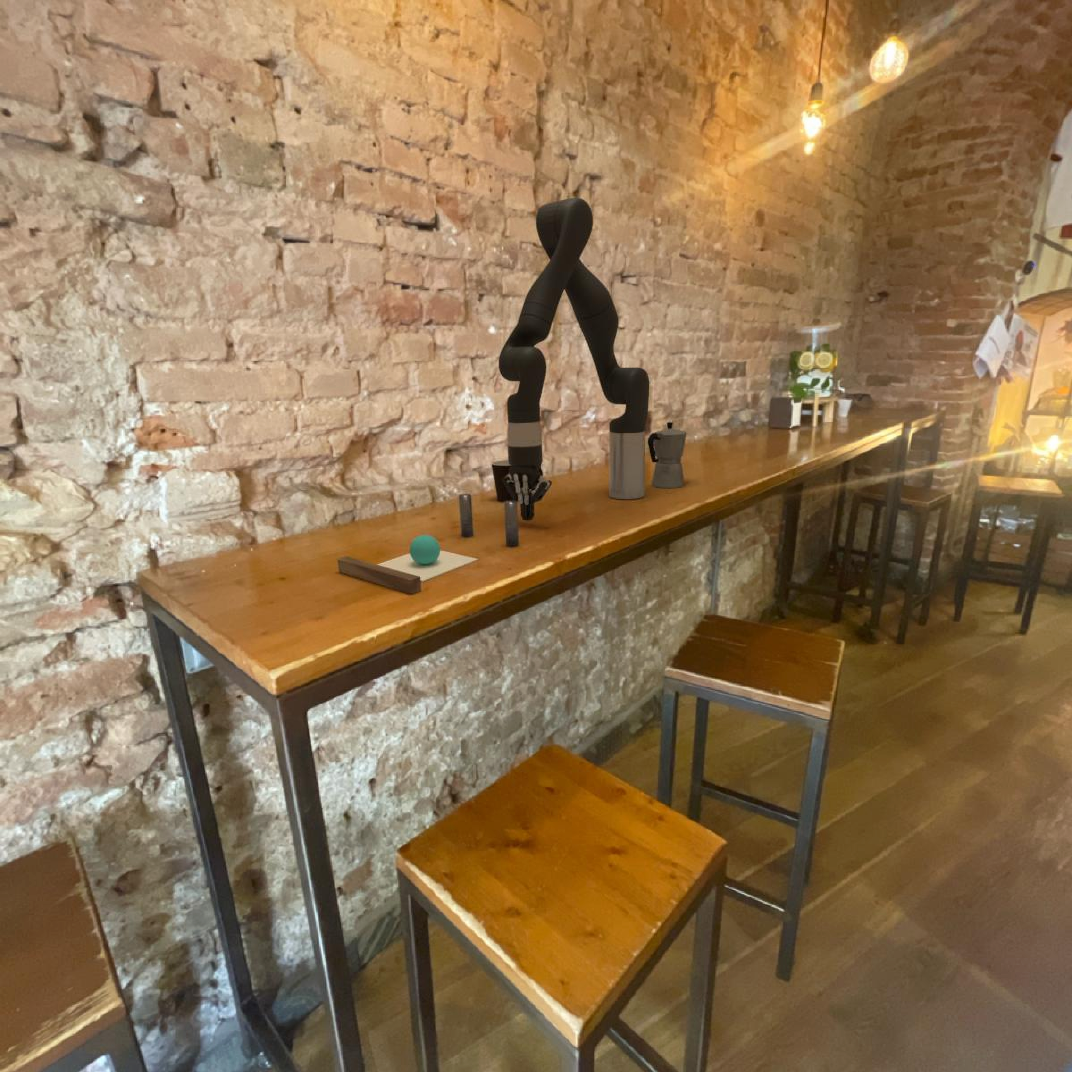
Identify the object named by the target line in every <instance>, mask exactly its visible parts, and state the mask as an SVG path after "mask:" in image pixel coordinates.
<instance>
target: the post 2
mask: <svg viewBox="0 0 1072 1072" xmlns="http://www.w3.org/2000/svg"><path fill="white" fill-rule="evenodd" d="M503 506H504V510H503V511H504V527H505V531H504V532H505V546H506V547H509V548H515V547H518V546H520V545H519V544H520V543H519V542H520V540H519V539H520V538H519V515H518V501H512V500H511V501H505V502H503Z"/></svg>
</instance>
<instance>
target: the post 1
mask: <svg viewBox="0 0 1072 1072" xmlns="http://www.w3.org/2000/svg"><path fill="white" fill-rule="evenodd" d="M458 503H459V504H458V505H459V506H458V507H459V519H460V535H461V538H472V537H474V524H473V523H474V521H473V520H474V519H473V505H472V503H473V502H472V494H471V493H461V494H459V495H458Z"/></svg>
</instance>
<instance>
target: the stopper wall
mask: <svg viewBox="0 0 1072 1072" xmlns="http://www.w3.org/2000/svg"><path fill="white" fill-rule="evenodd" d="M337 566H338V568H337V569H338V573H341V574H344V575H348V576H350V577H354V578H357V579H360V580H364V581H366V582H369V583H373V584H376V585H380V586H382V587H386V588H390V589H393V590H396V591H399V592H402V593H406V594H408V595H415V594H417V593H419V591H420V592H422V584H421V581H420V577H419V576H416V575H412V574H409V573H405V572H401V571H398V570H394V569H391V568H387V567H383V566H380V565H377V564H376V563H372V562H369V561H365V560H361V559H358V558H354V557H351V556H347V555H346V556H343V557H340V558H337Z"/></svg>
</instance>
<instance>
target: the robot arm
mask: <svg viewBox="0 0 1072 1072" xmlns="http://www.w3.org/2000/svg"><path fill="white" fill-rule="evenodd" d="M593 226H594V217H593V212H592V208H591V206H590V204H589V203H588V202H587V201H586V200H585V199H583V198H581V197H571V198H565V199H562V200H558V201H557V200H556V201H552V202H548V203H545V204H544V205H542V206H541V207H540V208H539V209H538V211H537V213H536V217H535V227H536V232H537V237H538V239H539V241H540V243H541V246H542V248H543V249H544V252H545V254H546V256H547V258H548V259H549V262H548V263H547V264H546V266H545V267H544V269H542V271H541V273H540V274H539V275H538V277H537V278H536V279H535V281H534V282H533V283H532V285H531V287H530V288H529V290H528V292H527V294H526V296H525V299H524V300H523V304H522V306H521V307H522V308H521V311H520V314H519V317H518V321H517V323H516V325H515V326H514V329H512V331H511V333H510V334H509V337H508V338H507V340H506V342H505V343H504V344H503V347H502V349H501V351H500V353H499V357H498V370H499V374H500V375H501V376H502V378H503V379H504V380H506V381H510V382H519V383H518V389H517V392H515V393H513V394H511V395H509V396H508V398H507V401H506V406H507V407H506V409H507V412H506V413H507V429H506V432H507V434H506V435H507V436H506V439H507V460H508V463H509V464H510V465H511V467H510V470H509V474H508V475H507V476H506V477H503V478H502V482H503V484H504V485H505V487H506V489H507V490H508V492H509V494H510V495H511V497H512V499H513V500H517V502H518V504H519V505H520V509H519V510H520V517H521V519H522V521H527V522H528V521H532V520H533V518H534V517H535V503H537V502H541V501H542V499H543V497H544V496H545V495H546V493H547V492H548V491H549V490H550V487H551V486H552V484H553V482H552V480H550V479H548V480H547V478H545V477H544V472H543V468H542V464H543V431H542V423H541V403H540V402H541V398H542V394H543V389H544V384H545V380H546V375H547V361H546V358H545V355H544V354H543V351H541V349H540V348H538V347H536V346H537V344H539V343H542V342H544V341H546V340H547V338H548V337H549V334H550V331H551V329H552V325H553V322H554V320H555V316H556V312H557V310H558V306H559V303H560V301H561V298H562V296H563V293H564V292H565V293H566V296H567V298H568V301H569V302H570V305H571V308H572V311H573V313H574V316H575V319H576V321H577V323H578V327H579V328H580V331H581V332H582V335H583V337H584V340H585V343H586V344H587V347H588V350H589V353H590V355H591V358H592V360H593V363H594V367H595V371H596V374H597V378H598V380H599V381H598V382H599V385H600V386H601V387H600V388H601V391H602V392H603V393H602V394H603V395H604V397H605V399H606V401H607V402H608V403H610V404H613V405H624V406H625V409H624V413H623V414H622V415H620V416H618V417H616V418H613V419H611V420H610V422H609V428H608V429H609V437H608V439H609V441H608V443H609V449H608V450H609V456H608V457H609V461H608V463H609V465H608V466H609V468H608V470H609V471H608V473H609V476H608V477H609V479H608V482H609V483H608V486H609V487H608V488H609V491H608V494H609V497H610V498H613V499H617V500H637V499H640V498H643V497H645V494H646V489H645V488H646V459H645V458H646V457H645V456H646V454H645V453H646V426H647V421H648V417H649V400H650V377H649V374H648V373H647V372H648V371H646V369H644V368H642V367H621V366H620V365H619V363H618V361H617V359H616V358H617V357H616V356H615V351H614V347H615V345H614V344H615V341H616V338H617V333H618V328H619V322H620V321H619V315H618V312H617V309H616V307H615V304H614V301H613V297H612V295H611V293H610V291H609V290H608V288H607V287H606V286H605V285H604V284H603V282H601V280H600V279H599V278H598V277H597V276H596V275H595V274H594V273H593V272H592V271H590V269H588V268H587V266H586V265H585V264H584V263H583V261H582V260H581V259H580V258H581V257H582V254H583V252H584V250H585V248H586V246H587V244H588V241H589V240H590V237H591V234H592V230H593Z"/></svg>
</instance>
